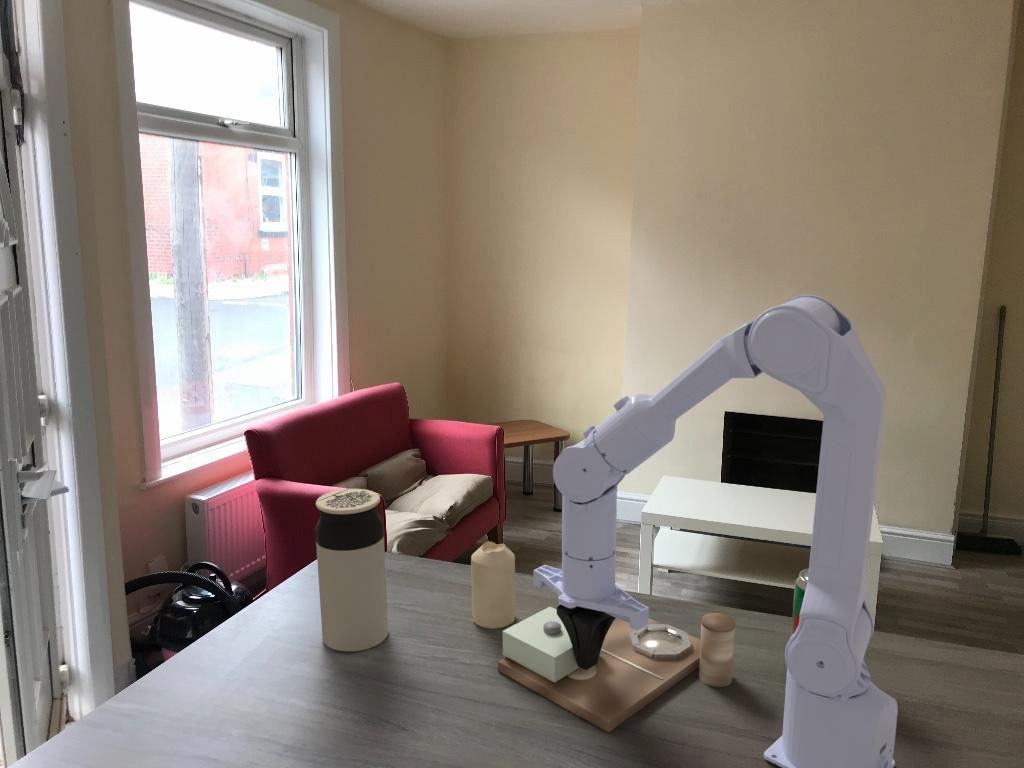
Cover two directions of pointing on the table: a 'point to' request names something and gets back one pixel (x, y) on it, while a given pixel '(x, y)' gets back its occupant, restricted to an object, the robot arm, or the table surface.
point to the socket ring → (660, 641)
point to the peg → (716, 649)
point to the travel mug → (351, 570)
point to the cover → (541, 645)
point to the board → (610, 679)
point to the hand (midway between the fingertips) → (587, 664)
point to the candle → (493, 586)
